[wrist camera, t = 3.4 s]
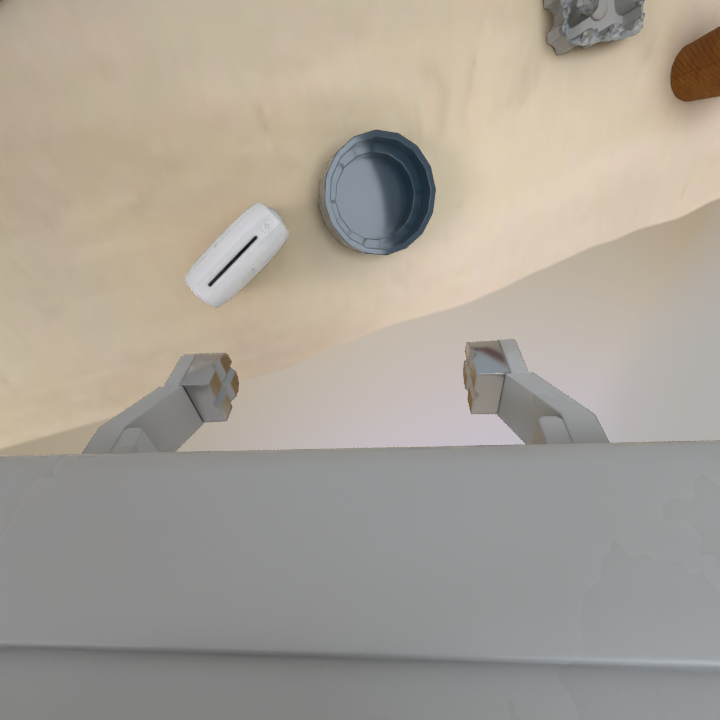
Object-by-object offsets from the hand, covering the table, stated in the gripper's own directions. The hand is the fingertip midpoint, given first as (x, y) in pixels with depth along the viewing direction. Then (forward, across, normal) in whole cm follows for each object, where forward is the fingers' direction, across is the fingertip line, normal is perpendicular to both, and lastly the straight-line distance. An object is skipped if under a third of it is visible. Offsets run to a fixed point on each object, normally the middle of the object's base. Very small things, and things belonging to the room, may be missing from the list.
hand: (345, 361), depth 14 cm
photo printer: (+30, +15, +10) cm, 34 cm away
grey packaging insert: (+50, -24, -6) cm, 56 cm away
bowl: (+35, +1, +7) cm, 36 cm away
